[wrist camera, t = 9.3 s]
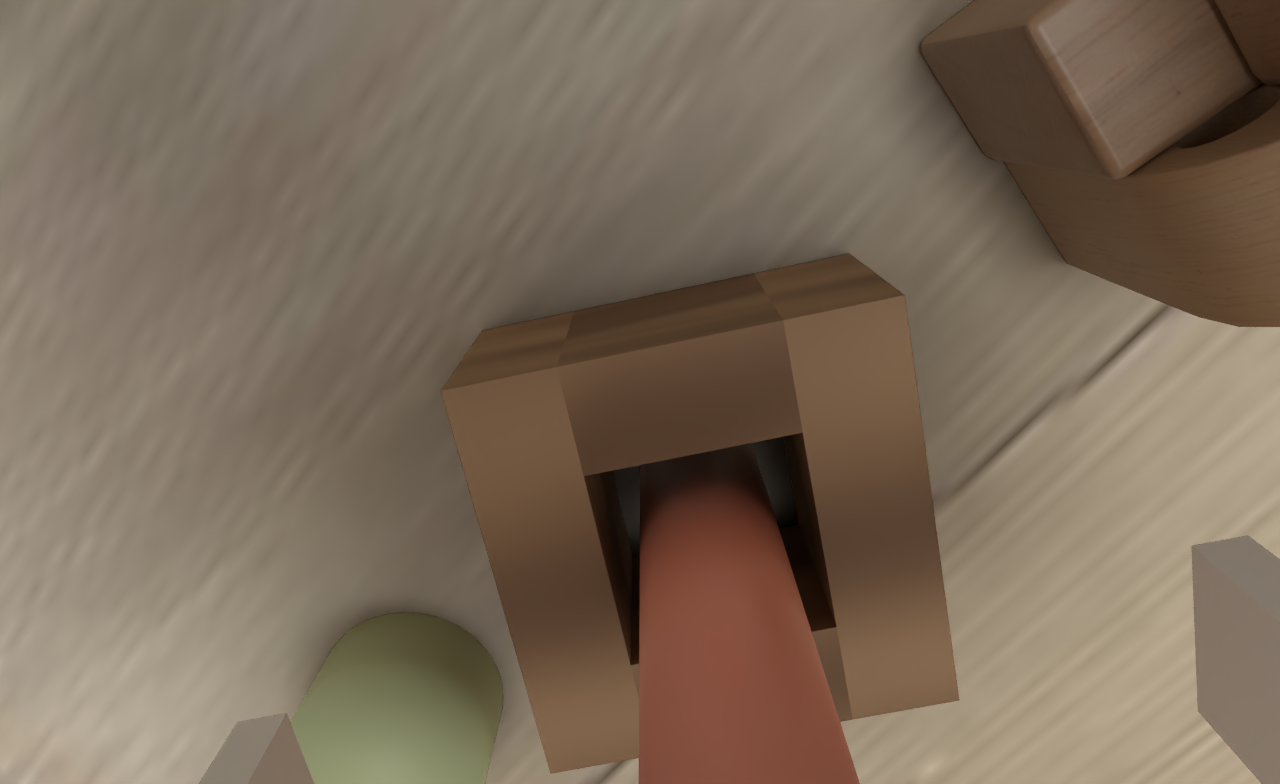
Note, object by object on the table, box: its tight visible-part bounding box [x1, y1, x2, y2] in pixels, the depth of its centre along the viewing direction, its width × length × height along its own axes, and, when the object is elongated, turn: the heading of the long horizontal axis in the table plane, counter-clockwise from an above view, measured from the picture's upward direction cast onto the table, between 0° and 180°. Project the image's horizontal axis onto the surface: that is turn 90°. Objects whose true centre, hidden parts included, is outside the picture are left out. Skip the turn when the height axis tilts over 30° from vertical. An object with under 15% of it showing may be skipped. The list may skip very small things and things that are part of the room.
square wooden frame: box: [441, 254, 959, 773], centre depth 22 cm, size 9×9×5 cm
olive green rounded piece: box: [290, 613, 503, 784], centre depth 25 cm, size 5×5×4 cm
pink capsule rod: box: [639, 443, 860, 784], centre depth 18 cm, size 3×3×14 cm
